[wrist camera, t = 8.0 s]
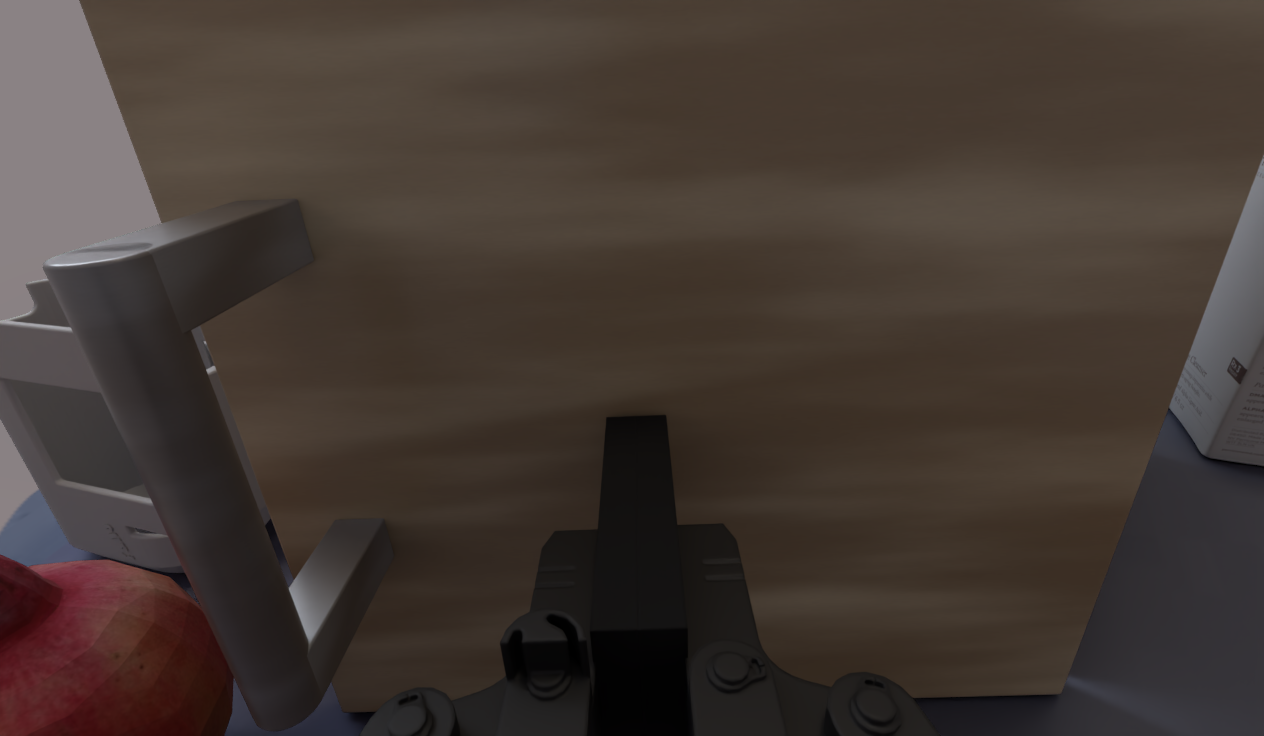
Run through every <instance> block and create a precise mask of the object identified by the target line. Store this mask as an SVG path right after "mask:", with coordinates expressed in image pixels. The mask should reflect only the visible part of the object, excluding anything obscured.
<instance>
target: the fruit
mask: <svg viewBox="0 0 1264 736" xmlns="http://www.w3.org/2000/svg"><path fill="white" fill-rule="evenodd" d="M233 678H234V676H233V674H232V672H231V670H230V668H229V666H228V663H227V661H226V659H225V657H224V655H223V653H222V651H221V648H220V646H219V644H218V642H217V640H216V638H215V636H214V634H213V631H212V629H211V627H210V625H209V623H208V621H207V619H206V616H205V614H204V612H203V610H202V608H201V607H200V605H199V604H198V603H197V602H196V601H195V600H194V599H193V598H192V597H191V596H190V595H189V594H188V593H187V592H186V591H185V590H183V589H182V588H181V587H180V586H179V585H178V584H177V583H176V582H175V581H174V580H172V579H171V578H170V577H168V576H165V575H161V574H158V573H154V572H150V571H147V570H143V569H139V568H136V567H132V566H129V565H125V564H122V563H118V562H115V561H111V560H85V561H72V562H62V563H52V564H42V565H32V566H29V567H26V566H25V565H22V564H20V563H18V562H16V561H14V560H11V559H9V558H7V557H5V556H3V555H0V736H224V735H225V732H226V729H227V726H228V723H229V720H230V717H231V714H232V701H233Z"/></svg>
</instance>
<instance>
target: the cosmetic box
mask: <svg viewBox="0 0 1264 736" xmlns="http://www.w3.org/2000/svg"><path fill="white" fill-rule="evenodd" d="M1169 409H1170V410H1171V411H1172V412H1173V413H1174V415H1175V416H1176V417H1177V418H1178V420H1179V421H1180V422H1181V423H1182V425H1183V426H1184V428H1185V429H1186V430H1187V432H1188V433H1189V435H1190V436H1191V438H1192V439H1193V441H1194V442H1195V444H1196V446H1197V448H1198V449H1199V451H1200V452H1201V454H1203V455H1204V456H1206V457H1208V458H1212V459H1219V460H1225V461H1231V462H1238V463H1245V464H1253V465H1259V466H1264V156H1263V158H1262V161H1261V164H1260V166H1259V169H1258V172H1257V174H1256V177H1255V180H1254V182H1253V185H1252V188H1251V190H1250V193H1249V196H1248V198H1247V201H1246V204H1245V206H1244V209H1243V212H1242V214H1241V217H1240V220H1239V222H1238V225H1237V228H1236V230H1235V233H1234V236H1233V238H1232V241H1231V244H1230V246H1229V249H1228V252H1227V254H1226V257H1225V260H1224V262H1223V265H1222V268H1221V270H1220V273H1219V275H1218V278H1217V281H1216V283H1215V286H1214V289H1213V291H1212V294H1211V297H1210V299H1209V302H1208V305H1207V307H1206V310H1205V313H1204V315H1203V318H1202V321H1201V323H1200V326H1199V329H1198V331H1197V334H1196V337H1195V339H1194V342H1193V345H1192V347H1191V350H1190V353H1189V355H1188V358H1187V361H1186V363H1185V366H1184V369H1183V371H1182V374H1181V377H1180V379H1179V382H1178V385H1177V387H1176V390H1175V393H1174V395H1173V398H1172V400H1171V403H1170V406H1169Z"/></svg>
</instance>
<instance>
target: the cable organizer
mask: <svg viewBox="0 0 1264 736" xmlns="http://www.w3.org/2000/svg"><path fill="white" fill-rule="evenodd" d="M26 286H27V289H28V291H29V293H30V295H31V297H32V299H33V301H34V307H33V309H32V310H31V311H30V312H29V313H27V314H24V315H21V316H17V317H14V318H11V319H7V320H0V419H1V421H2V423H3V424H4V426H5V428H6V430H7V432H8V434H9V435H10V437H11V439H12V441H13V443H14V444H15V446H16V448H17V450H18V452H19V453H20V455H21V457H22V459H23V461H24V462H25V464H26V466H27V468H28V470H29V471H30V473H31V475H32V477H33V479H34V480H35V482H36V484H37V486H38V488H39V489H40V491H41V493H42V495H43V497H44V498H45V500H46V502H47V504H48V506H49V507H50V509H51V511H52V513H53V515H54V516H55V518H56V520H57V522H58V524H59V525H60V527H61V529H62V531H63V533H64V534H65V536H66V538H67V540H68V541H69V543H70V544H71V545H72V546H74V547H76V548H78V549H81V550H84V551H88V552H91V553H94V554H97V555H100V556H103V557H107V558H111V559H114V560H118V561H122V562H126V563H130V564H134V565H137V566H141V567H145V568H149V569H153V570H156V571H161V572H167V573H185V571H184V569H183V567H182V565H181V563H180V561H179V559H178V556H177V554H176V552H175V550H174V548H173V546H172V544H171V541H170V539H169V537H168V535H167V533H166V531H165V529H164V526H163V524H162V522H161V520H160V518H159V516H158V514H157V511H156V509H155V507H154V505H153V503H152V501H151V499H150V496H149V494H148V492H147V490H146V488H145V486H144V484H143V481H142V479H141V477H140V475H139V473H138V471H137V469H136V466H135V464H134V462H133V460H132V458H131V456H130V454H129V451H128V449H127V447H126V445H125V443H124V441H123V439H122V436H121V434H120V432H119V430H118V428H117V426H116V424H115V421H114V419H113V417H112V415H111V413H110V411H109V409H108V406H107V404H106V402H105V400H104V398H103V396H102V394H101V391H100V389H99V387H98V385H97V383H96V381H95V379H94V376H93V374H92V372H91V370H90V368H89V366H88V364H87V361H86V359H85V357H84V355H83V353H82V351H81V349H80V346H79V344H78V342H77V340H76V338H75V336H74V334H73V331H72V329H71V327H70V325H69V323H68V321H67V319H66V316H65V314H64V312H63V310H62V308H61V306H60V304H59V302H58V299H57V297H56V295H55V293H54V291H53V289H52V287H51V284H50V282H49V280H48V279H45V280H39V281H34V282H29V283H26ZM191 331H192V334H193V336H194V339H195V342H196V344H197V347H198V350H199V352H200V355H201V357H202V360H203V363H204V365H205V368H206V371H207V373H208V376H209V379H210V381H211V384H212V387H213V389H214V392H215V395H216V397H217V400H218V402H219V405H220V408H221V410H222V413H223V416H224V418H225V421H226V424H227V426H228V429H229V432H230V434H231V437H232V440H233V442H234V445H235V448H236V450H237V453H238V455H239V458H240V461H241V463H242V466H243V469H244V471H245V474H246V477H247V479H248V482H249V485H250V487H251V490H252V493H253V495H254V498H255V500H256V503H257V506H258V508H259V511H260V514H261V516H262V519H263V522H264V524H265V525H266V524H267V523H268V521H269V520H270V518H271V517H270V514H269V512H268V509H267V506H266V504H265V501H264V498H263V495H262V493H261V490H260V487H259V485H258V482H257V479H256V477H255V474H254V471H253V468H252V466H251V463H250V460H249V458H248V455H247V452H246V450H245V447H244V444H243V441H242V439H241V436H240V433H239V431H238V428H237V425H236V423H235V420H234V417H233V414H232V412H231V409H230V406H229V404H228V401H227V398H226V395H225V393H224V390H223V387H222V385H221V382H220V379H219V377H218V374H217V371H216V368H215V366H214V363H213V360H212V358H211V355H210V352H209V350H208V347H207V344H206V341H205V339H204V336H203V333H202V331H201V328H200V326H198V327H196V328H195V329H193V330H191ZM135 528H137V529H141V530H146V531H150V532H154V533H157V534H145V533H139V532H137V531H136V529H135Z"/></svg>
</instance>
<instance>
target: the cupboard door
mask: <svg viewBox="0 0 1264 736" xmlns="http://www.w3.org/2000/svg"><path fill="white" fill-rule="evenodd" d="M79 1H80V4H81V6H82V9H83V12H84V14H85V17H86V20H87V22H88V25H89V28H90V31H91V33H92V36H93V39H94V41H95V44H96V47H97V49H98V52H99V55H100V58H101V60H102V63H103V66H104V68H105V71H106V74H107V76H108V79H109V82H110V85H111V87H112V90H113V93H114V95H115V98H116V101H117V104H118V106H119V109H120V112H121V114H122V117H123V120H124V122H125V125H126V127H127V131H128V133H129V136H130V139H131V141H132V144H133V147H134V149H135V152H136V155H137V157H138V160H139V163H140V166H141V168H142V171H143V174H144V177H145V179H146V182H147V185H148V187H149V190H150V193H151V195H152V198H153V201H154V204H155V206H156V209H157V212H158V214H159V217H160V220H161V223H162V224H159V225H155V226H152V227H149V228H145V229H142V230H139V231H136V232H132V233H129V234H126V235H122V236H119V237H116V238H112V239H109V240H106V241H103V242H99V243H96V244H93V245H89V246H86V247H83V248H80V249H77V250H73V251H70V252H66V253H63V254H61V255H58V256H55V257H53V258H51V259H49V260H47V261H45V262H44V263H43V269H44V271H45V274H46V275H47V278H48V280H49V282H50V284H51V287H52V289H53V291H54V293H55V295H56V297H57V299H58V302H59V304H60V306H61V308H62V310H63V312H64V314H65V316H66V319H67V321H68V323H69V325H70V327H71V329H72V331H73V334H74V336H75V338H76V340H77V342H78V344H79V346H80V349H81V351H82V353H83V355H84V357H85V359H86V361H87V364H88V366H89V368H90V370H91V372H92V374H93V376H94V379H95V381H96V383H97V385H98V387H99V389H100V391H101V394H102V396H103V398H104V400H105V402H106V404H107V406H108V409H109V411H110V413H111V415H112V417H113V419H114V421H115V424H116V426H117V428H118V430H119V432H120V434H121V436H122V439H123V441H124V443H125V445H126V447H127V449H128V451H129V454H130V456H131V458H132V460H133V462H134V464H135V466H136V469H137V471H138V473H139V475H140V477H141V479H142V481H143V484H144V486H145V488H146V490H147V492H148V494H149V496H150V499H151V501H152V503H153V505H154V507H155V509H156V511H157V514H158V516H159V518H160V520H161V522H162V524H163V526H164V529H165V531H166V533H167V535H168V537H169V539H170V541H171V544H172V546H173V548H174V550H175V552H176V554H177V556H178V559H179V561H180V563H181V565H182V567H183V569H184V571H185V574H186V576H187V578H188V580H189V582H190V584H191V586H192V589H193V591H194V593H195V595H196V597H197V599H198V601H199V604H200V606H201V608H202V610H203V612H204V614H205V616H206V619H207V621H208V623H209V625H210V627H211V629H212V631H213V634H214V636H215V638H216V640H217V642H218V644H219V646H220V648H221V651H222V653H223V655H224V657H225V659H226V661H227V663H228V666H229V668H230V670H231V672H232V674H233V676H234V678H235V681H236V683H237V685H238V687H239V689H240V691H241V693H242V696H243V698H244V700H245V702H246V704H247V706H248V708H249V711H250V713H251V715H252V717H253V719H254V721H255V723H256V725H257V726H258V727H260V728H261V729H264V730H266V731H281V730H285V729H288V728H290V727H293V726H295V725H297V724H298V723H300V722H302V721H303V720H305V719H306V718H307V717H308V716H309V715H310V714H311V713H313V711H314V710H315V709H316V708H317V707H318V705H319V704H320V702H321V700H322V698H323V696H324V694H325V692H326V691H327V689H328V687H329V685H330V683H331V682H332V685H333V687H334V690H335V693H336V696H337V698H338V701H339V704H340V706H341V709H342V711H343V712H376V711H377V710H378V709H379V708H380V707H381V706H382V705H383V704H384V703H385V702H387V701H388V700H390V699H391V698H393V697H394V696H396V695H397V694H399V693H401V692H404V691H407V690H410V689H413V688H416V687H433V688H435V689H437V690H440V691H442V692H444V693H446V694H447V696H448V697H449V698H450V700H451V701H452V700H455V699H458V698H461V697H464V696H467V695H470V694H473V693H476V692H479V691H481V690H483V689H486V688H488V687H490V686H492V685H494V684H495V683H497V682H498V681H500V680H501V679H503V678H504V677H505V676H506V673H505V668H504V663H503V658H502V652H501V647H500V641H501V639H502V637H503V635H504V633H505V631H506V629H507V628H508V627H509V626H510V625H511V624H512V623H513V622H514V621H515V620H516V619H517V618H519V617H520V616H522V615H524V614H526V613H528V612H530V606H531V601H532V596H533V591H534V588H535V581H536V575H537V572H538V565H539V560H540V555H541V550H542V547H543V546H544V545H545V543H546V542H547V541H548V539H549V538H550V537H551V535H552V534H553V533H554V531H565V530H593V529H598V519H599V506H600V493H601V480H602V467H603V454H604V441H605V428H606V417H624V416H650V415H666V417H667V427H668V437H669V447H670V457H671V467H672V477H673V487H674V497H675V507H676V517H677V525H690V524H719V523H723V524H724V525H725V527H726V528H727V529H728V530H729V531H730V533H731V534H732V535H733V536H734V537H735V539H736V540H737V544H738V548H739V553H740V557H741V563H742V566H743V570H744V575H745V580H746V584H747V588H748V592H749V597H750V601H751V606H752V610H753V615H754V619H755V623H756V628H757V632H758V637H759V640H760V643H761V645H762V648H763V650H764V651H765V653H766V654H767V656H768V657H769V659H770V660H771V661H773V662H774V663H775V664H776V665H777V666H778V667H779V668H781V669H782V670H784V671H785V672H787V673H789V674H790V675H793V676H795V677H798V678H801V679H804V680H807V681H811V682H815V683H818V684H822V685H826V686H830V687H832V686H833V684H834V683H835V681H836V680H837V679H839V678H841V677H843V676H845V675H847V674H849V673H856V672H869V673H873V674H877V675H881V676H884V677H886V678H888V679H889V680H891V681H893V682H895V683H896V684H898V685H900V686H901V687H902V688H903V689H904V690H905V691H906V692H907V693H908V694H909V695H910V696H911V697H912V698H935V697H974V696H1013V695H1053V694H1061V693H1062V690H1063V688H1064V685H1065V682H1066V680H1067V677H1068V674H1069V672H1070V669H1071V666H1072V664H1073V661H1074V658H1075V656H1076V653H1077V650H1078V648H1079V645H1080V642H1081V640H1082V637H1083V635H1084V632H1085V629H1086V627H1087V624H1088V621H1089V619H1090V616H1091V613H1092V611H1093V608H1094V605H1095V603H1096V600H1097V597H1098V595H1099V592H1100V589H1101V587H1102V584H1103V581H1104V579H1105V576H1106V573H1107V571H1108V568H1109V565H1110V563H1111V560H1112V557H1113V555H1114V552H1115V549H1116V547H1117V544H1118V541H1119V539H1120V536H1121V533H1122V531H1123V528H1124V525H1125V523H1126V520H1127V518H1128V515H1129V512H1130V510H1131V507H1132V504H1133V502H1134V499H1135V496H1136V494H1137V491H1138V488H1139V486H1140V483H1141V480H1142V478H1143V475H1144V472H1145V470H1146V467H1147V464H1148V462H1149V459H1150V456H1151V454H1152V451H1153V448H1154V446H1155V443H1156V440H1157V438H1158V435H1159V432H1160V430H1161V427H1162V424H1163V422H1164V419H1165V416H1166V414H1167V411H1168V408H1169V406H1170V403H1171V400H1172V398H1173V395H1174V393H1175V390H1176V387H1177V385H1178V382H1179V379H1180V377H1181V374H1182V371H1183V369H1184V366H1185V363H1186V361H1187V358H1188V355H1189V353H1190V350H1191V347H1192V345H1193V342H1194V339H1195V337H1196V334H1197V331H1198V329H1199V326H1200V323H1201V321H1202V318H1203V315H1204V313H1205V310H1206V307H1207V305H1208V302H1209V299H1210V297H1211V294H1212V291H1213V289H1214V286H1215V283H1216V281H1217V278H1218V275H1219V273H1220V270H1221V268H1222V265H1223V262H1224V260H1225V257H1226V254H1227V252H1228V249H1229V246H1230V244H1231V241H1232V238H1233V236H1234V233H1235V230H1236V228H1237V225H1238V222H1239V220H1240V217H1241V214H1242V212H1243V209H1244V206H1245V204H1246V201H1247V198H1248V196H1249V193H1250V190H1251V188H1252V185H1253V182H1254V180H1255V177H1256V174H1257V172H1258V169H1259V166H1260V164H1261V161H1262V158H1263V156H1264V0H79ZM198 326H200V328H201V331H202V333H203V336H204V339H205V341H206V344H207V347H208V350H209V352H210V355H211V358H212V360H213V363H214V366H215V368H216V371H217V374H218V377H219V379H220V382H221V385H222V387H223V390H224V393H225V395H226V398H227V401H228V404H229V406H230V409H231V412H232V414H233V417H234V420H235V423H236V425H237V428H238V431H239V433H240V436H241V439H242V441H243V444H244V447H245V450H246V452H247V455H248V458H249V460H250V463H251V466H252V468H253V471H254V474H255V477H256V479H257V482H258V485H259V487H260V490H261V493H262V495H263V498H264V501H265V504H266V506H267V509H268V512H269V514H270V517H271V520H272V523H273V525H274V528H275V531H276V533H277V536H278V539H279V541H280V544H281V547H282V550H283V552H284V555H285V558H286V560H287V563H288V566H289V568H290V571H291V574H292V577H293V579H294V581H293V582H292V584H291V585H290V587H289V588H288V585H287V583H286V580H285V577H284V575H283V572H282V569H281V567H280V564H279V561H278V559H277V556H276V553H275V551H274V548H273V546H272V543H271V540H270V538H269V535H268V532H267V530H266V527H265V524H264V522H263V519H262V516H261V514H260V511H259V508H258V506H257V503H256V500H255V498H254V495H253V493H252V490H251V487H250V485H249V482H248V479H247V477H246V474H245V471H244V469H243V466H242V463H241V461H240V458H239V455H238V453H237V450H236V448H235V445H234V442H233V440H232V437H231V434H230V432H229V429H228V426H227V424H226V421H225V418H224V416H223V413H222V410H221V408H220V405H219V402H218V400H217V397H216V395H215V392H214V389H213V387H212V384H211V381H210V379H209V376H208V373H207V371H206V368H205V365H204V363H203V360H202V357H201V355H200V352H199V350H198V347H197V344H196V342H195V339H194V336H193V334H192V331H191V330H193V329H195V328H196V327H198Z"/></svg>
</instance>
